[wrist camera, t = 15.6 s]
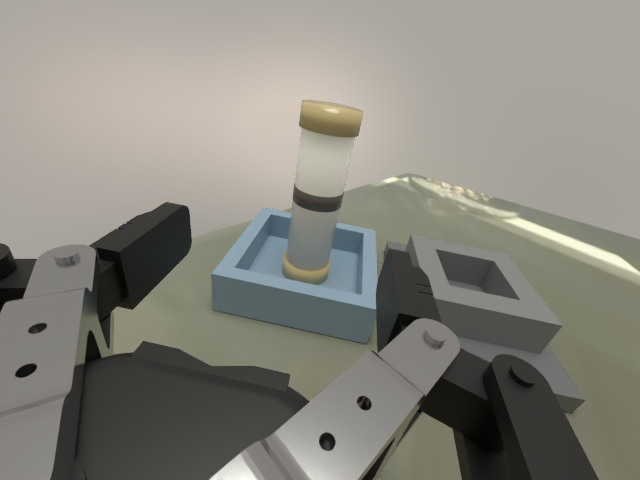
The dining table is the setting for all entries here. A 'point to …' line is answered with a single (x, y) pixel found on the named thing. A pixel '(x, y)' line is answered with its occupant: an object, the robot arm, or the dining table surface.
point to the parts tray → (298, 297)
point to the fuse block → (492, 308)
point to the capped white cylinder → (319, 187)
